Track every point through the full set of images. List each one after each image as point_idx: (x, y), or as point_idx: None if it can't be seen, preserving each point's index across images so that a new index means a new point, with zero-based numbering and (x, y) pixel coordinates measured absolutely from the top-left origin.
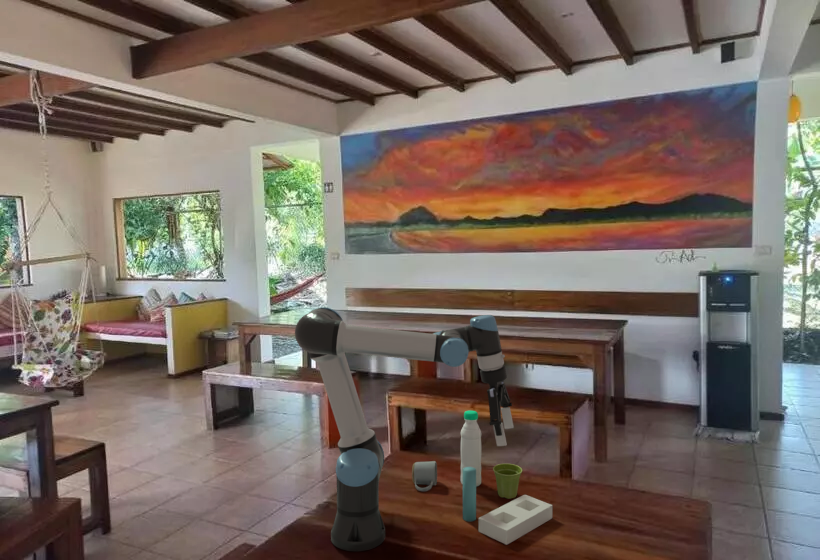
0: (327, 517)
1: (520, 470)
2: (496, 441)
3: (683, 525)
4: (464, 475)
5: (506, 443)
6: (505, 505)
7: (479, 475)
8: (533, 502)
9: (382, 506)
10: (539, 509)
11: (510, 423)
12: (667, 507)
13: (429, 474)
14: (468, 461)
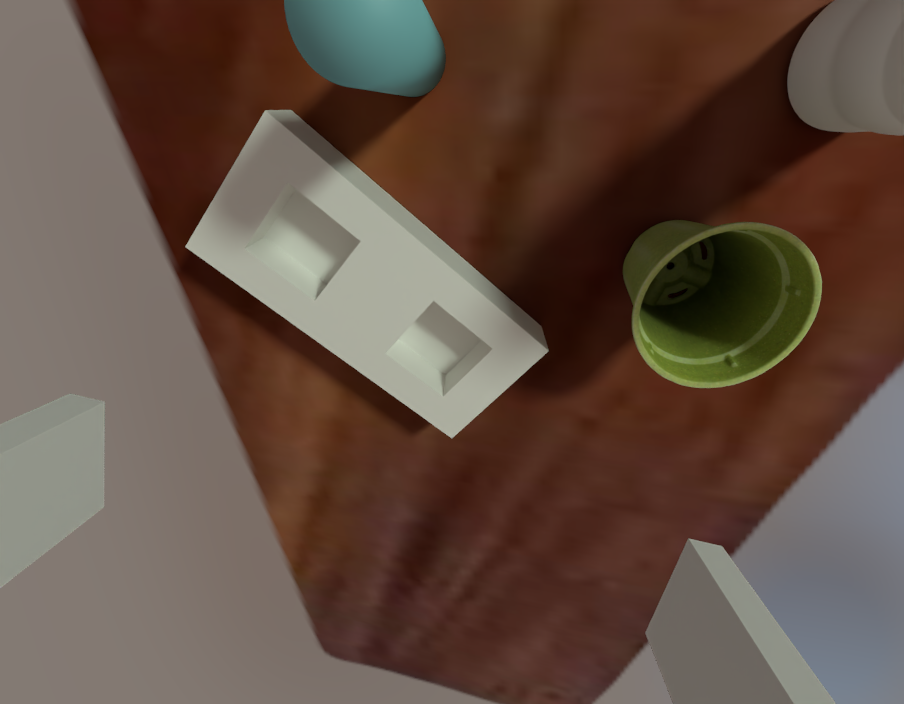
0: None
1: (712, 376)
2: (8, 425)
3: (448, 664)
4: None
5: (88, 515)
6: (425, 256)
7: (842, 120)
8: (468, 376)
9: None
10: (407, 390)
11: (682, 677)
12: (543, 664)
13: None
14: None
